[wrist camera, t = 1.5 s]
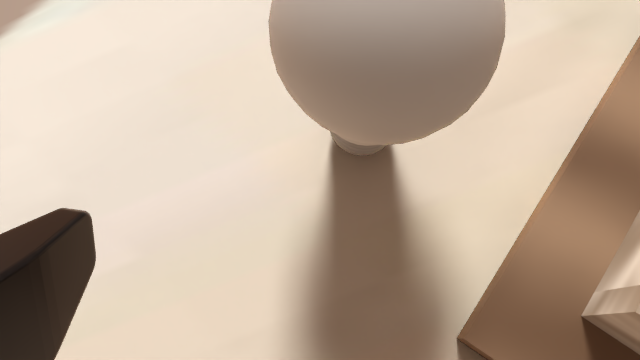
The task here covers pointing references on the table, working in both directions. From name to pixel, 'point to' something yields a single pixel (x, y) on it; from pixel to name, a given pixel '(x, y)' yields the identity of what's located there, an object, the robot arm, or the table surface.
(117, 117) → the table surface
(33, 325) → the robot arm
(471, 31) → the lightbulb
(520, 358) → the socket board
